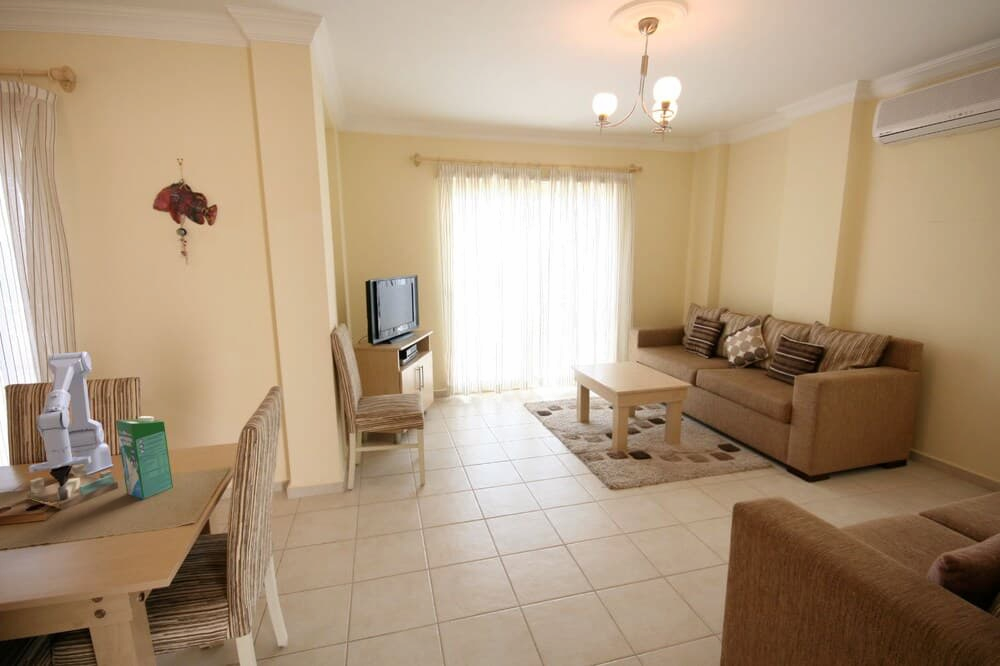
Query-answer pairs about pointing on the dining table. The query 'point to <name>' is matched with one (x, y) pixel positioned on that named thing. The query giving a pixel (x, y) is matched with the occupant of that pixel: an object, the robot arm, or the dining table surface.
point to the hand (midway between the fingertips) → (64, 488)
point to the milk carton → (144, 456)
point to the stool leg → (68, 488)
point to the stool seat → (87, 490)
